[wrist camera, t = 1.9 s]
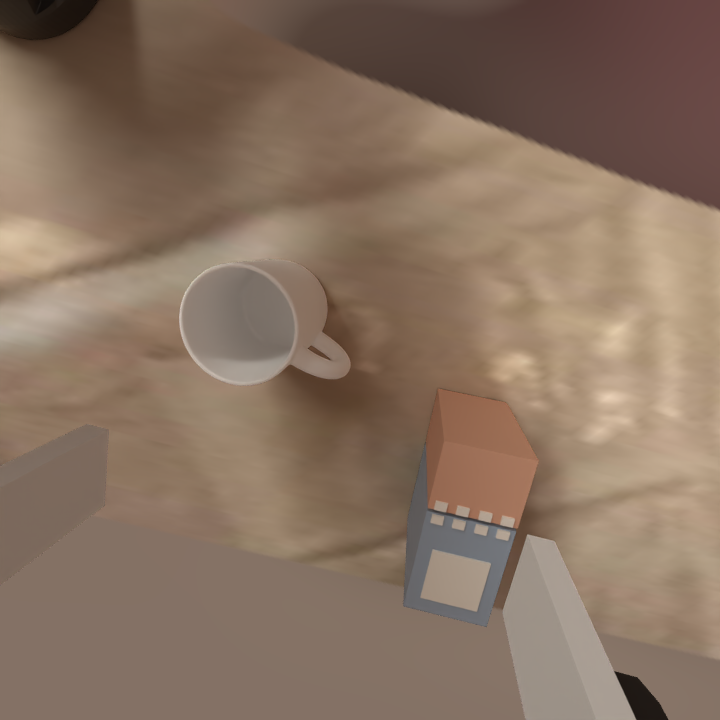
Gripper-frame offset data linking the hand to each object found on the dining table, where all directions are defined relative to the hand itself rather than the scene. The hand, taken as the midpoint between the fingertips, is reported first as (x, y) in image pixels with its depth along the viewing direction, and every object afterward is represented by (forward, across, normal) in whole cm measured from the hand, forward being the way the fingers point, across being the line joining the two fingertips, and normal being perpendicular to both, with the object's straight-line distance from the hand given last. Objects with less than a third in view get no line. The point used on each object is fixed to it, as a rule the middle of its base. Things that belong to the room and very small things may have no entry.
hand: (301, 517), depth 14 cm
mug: (+26, -8, +1) cm, 27 cm away
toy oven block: (+27, +8, -12) cm, 30 cm away
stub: (+27, +8, -5) cm, 28 cm away
